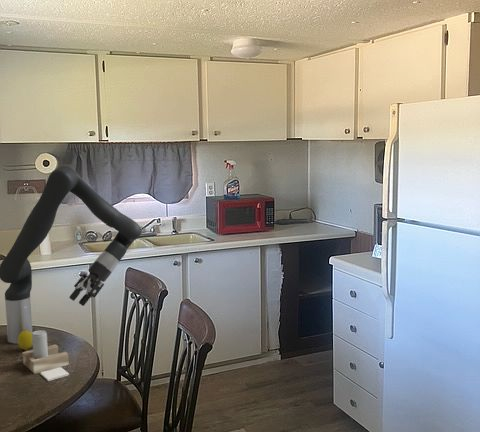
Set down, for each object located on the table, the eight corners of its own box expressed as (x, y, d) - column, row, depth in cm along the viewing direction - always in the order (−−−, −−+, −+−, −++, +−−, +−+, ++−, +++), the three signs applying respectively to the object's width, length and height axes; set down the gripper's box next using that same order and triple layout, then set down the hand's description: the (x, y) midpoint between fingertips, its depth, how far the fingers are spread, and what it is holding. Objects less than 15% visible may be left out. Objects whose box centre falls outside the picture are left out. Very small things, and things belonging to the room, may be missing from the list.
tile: (40, 374, 183) (40, 372, 183) (60, 368, 188) (60, 367, 188) (48, 381, 178) (48, 379, 178) (68, 375, 183) (68, 373, 182)
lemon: (15, 352, 203) (13, 331, 202) (26, 346, 208) (24, 326, 207) (26, 354, 201) (25, 333, 200) (37, 348, 206) (36, 328, 205)
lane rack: (22, 363, 193) (22, 352, 192) (56, 354, 200) (55, 344, 200) (34, 373, 184) (33, 362, 183) (68, 364, 191) (68, 353, 191)
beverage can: (43, 368, 188) (41, 335, 187) (31, 367, 189) (29, 334, 188) (51, 362, 193) (49, 330, 191) (38, 361, 194) (36, 329, 192)
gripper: (88, 257, 206) (60, 292, 200) (105, 263, 195) (76, 300, 190) (102, 268, 210) (75, 303, 204) (119, 275, 199) (91, 312, 194)
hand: (76, 301), depth 197 cm, fingers open, 8 cm apart
